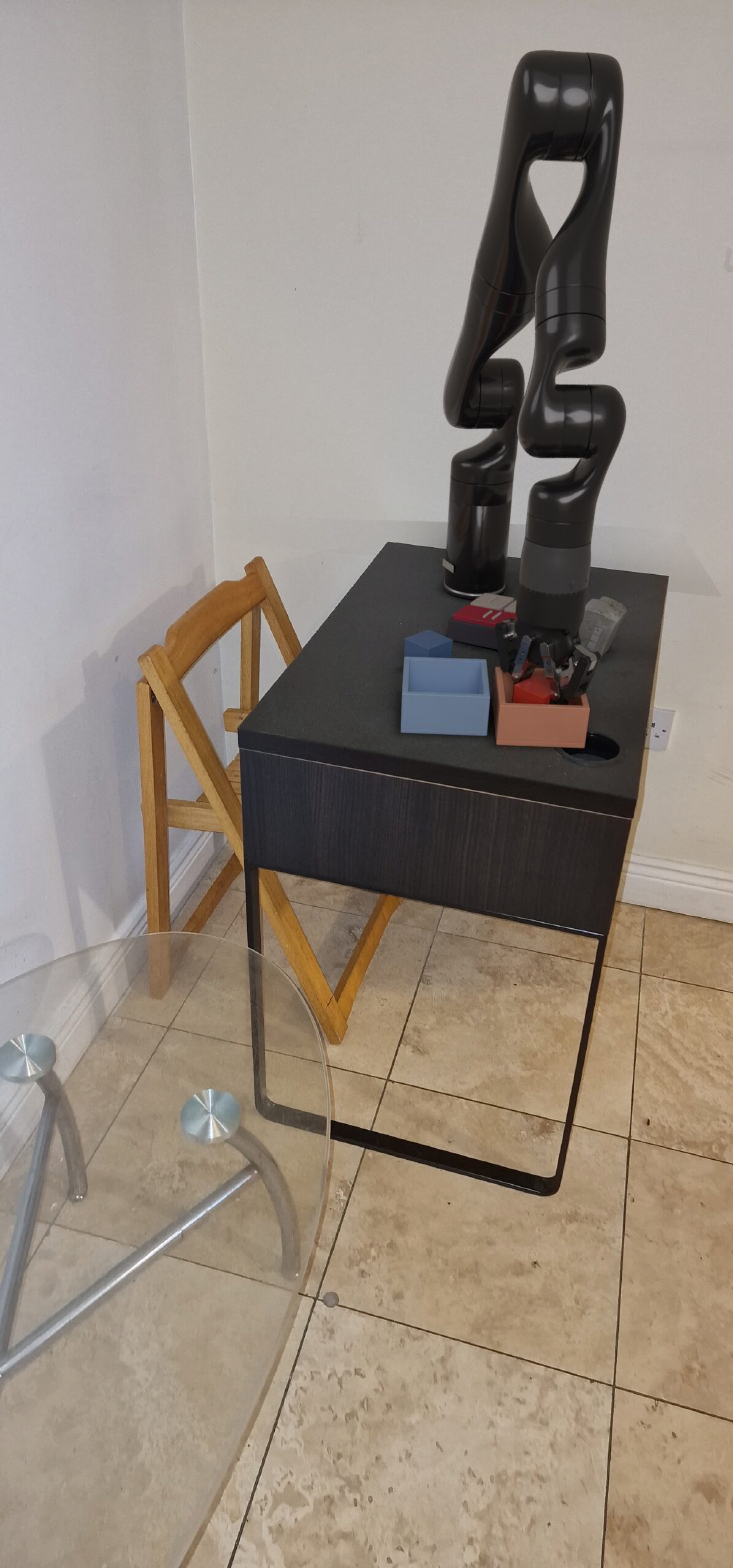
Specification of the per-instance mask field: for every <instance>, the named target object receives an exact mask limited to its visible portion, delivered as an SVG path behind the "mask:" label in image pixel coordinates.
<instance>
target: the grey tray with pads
mask: <svg viewBox="0 0 733 1568" xmlns="http://www.w3.org/2000/svg"><path fill="white" fill-rule="evenodd" d="M516 601H517V599H516V600H515V598H514V597H511V596H507V595H505V596H504V595H495V594H489V593H484V594H483V595H481V596H480V597H478V598H477V599H473V600H472V601H471V602H470V604H466V605H465V606H464V607H462V608H461V609H459V610H457V611H456V612H454V613H453V614H452V616H451V617H449V618H447V637H448V638H450V639H452V640H453V642H454V641H455V642H459V643H463V644H467V645H472V646H473V645H474V646H478V647H483V648H486V649H487V648H488V649H493V650H496V651H498V646H497V639H496V632H495V625H496V624H497V623H499V622H501V621H504V620H506V619H510V618H514V619H515V621H516V620H517V617H516V613H515V611H516ZM519 646H520V647H521V644H520V642H519ZM509 653H510V651H509Z"/></svg>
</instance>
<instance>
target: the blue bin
mask: <svg viewBox="0 0 733 1568" xmlns="http://www.w3.org/2000/svg"><path fill="white" fill-rule="evenodd" d="M402 669H403V671H402V688H401V712H400V713H401V714H400V733H401V734H423V735H425V734H426V735H427V734H428V735H451V736H452V735H453V736H475V737H476V736H478V737H487V736H488V729H489V728H488V727H489V716H490V715H489V714H490V702H491V692H490V683H489V682H490V681H489V674H488V673H489V672H488V663H487V659H485V658H458V657H457V658H456V657H452V658H431V657H404V656H403V668H402Z"/></svg>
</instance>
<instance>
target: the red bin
mask: <svg viewBox="0 0 733 1568" xmlns="http://www.w3.org/2000/svg"><path fill="white" fill-rule="evenodd" d="M557 669H558V668H556V670H557ZM573 672H574V669H573ZM538 674H540V675H542V676H545V670H544V668H543V667H542V668H541V667H539V668H538V667H535V670H534V672H533V675H532V676H531V677H533V676H535V675H538ZM572 674H573V673H572ZM572 674H571V676H572ZM531 677H530V678H531ZM493 682H494V683H493V689H492V690H493V691H492V702H491V703H492V705H491V706H492V714H493V724H494V734H495V744H496V746H514V747H515V746H516V747H517V746H519V747H542V748H543V747H546V748H571V749H572V748H574V749H585V746H586V739H587V732H588V725H589V719H590V712H591V708H590V704H589V700H588V697H587V692H586V693H585V694H583V695H581V696H579V697H577V698H575V699H573V700H571V701H569V703H568V705H545V704H517V703H513V702H512V697H513V687H514V681H513V680H512V678H511V675H510V674H509V673H508V672H507V673H504V672H502V670H501V667H500V666H495V668H494V680H493ZM560 683H561V680H560Z"/></svg>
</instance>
